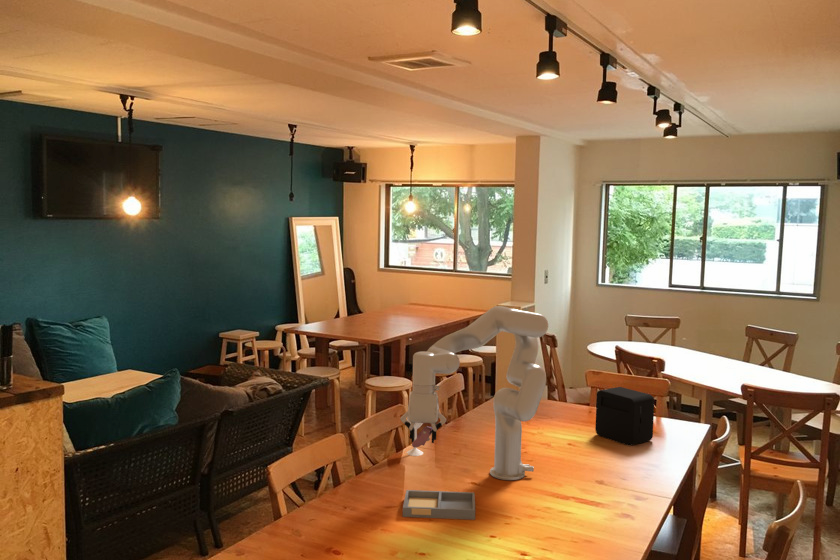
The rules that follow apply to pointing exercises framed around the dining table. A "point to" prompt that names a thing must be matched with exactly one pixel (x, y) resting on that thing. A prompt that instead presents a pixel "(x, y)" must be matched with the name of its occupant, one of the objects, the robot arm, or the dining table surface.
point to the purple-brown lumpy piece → (422, 437)
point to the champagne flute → (415, 451)
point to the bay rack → (439, 504)
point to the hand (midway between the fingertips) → (422, 440)
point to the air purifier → (624, 415)
